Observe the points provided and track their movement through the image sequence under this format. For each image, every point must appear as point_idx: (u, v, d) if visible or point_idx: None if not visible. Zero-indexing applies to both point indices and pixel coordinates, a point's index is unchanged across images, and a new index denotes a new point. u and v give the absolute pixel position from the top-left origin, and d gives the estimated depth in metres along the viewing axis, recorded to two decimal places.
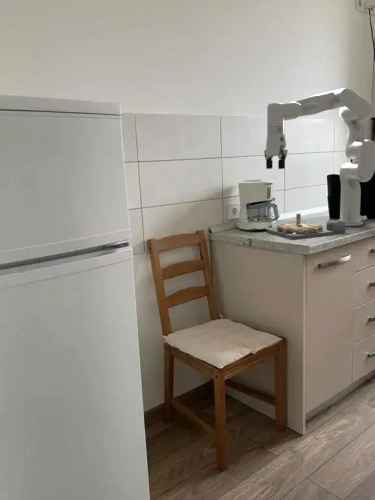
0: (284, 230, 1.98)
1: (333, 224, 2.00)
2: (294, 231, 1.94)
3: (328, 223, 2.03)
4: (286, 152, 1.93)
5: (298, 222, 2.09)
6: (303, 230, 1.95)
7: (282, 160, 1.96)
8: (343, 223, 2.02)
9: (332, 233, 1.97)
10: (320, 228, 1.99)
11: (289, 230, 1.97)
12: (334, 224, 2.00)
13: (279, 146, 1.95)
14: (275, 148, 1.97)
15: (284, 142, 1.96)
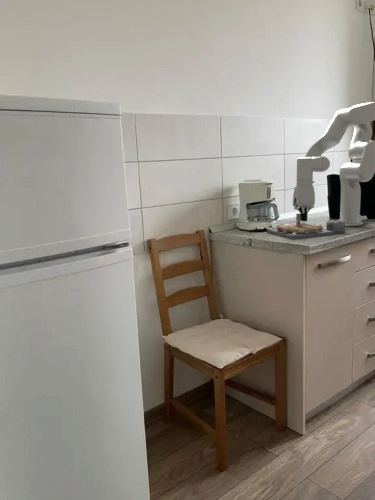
0: (284, 230, 1.97)
1: (333, 224, 2.00)
2: (294, 231, 1.94)
3: (328, 223, 2.03)
4: None
5: (298, 222, 2.09)
6: (303, 230, 1.95)
7: None
8: (343, 223, 2.02)
9: (332, 233, 1.97)
10: (320, 228, 1.99)
11: (289, 230, 1.97)
12: (334, 224, 2.00)
13: None
14: (312, 199, 2.08)
15: None
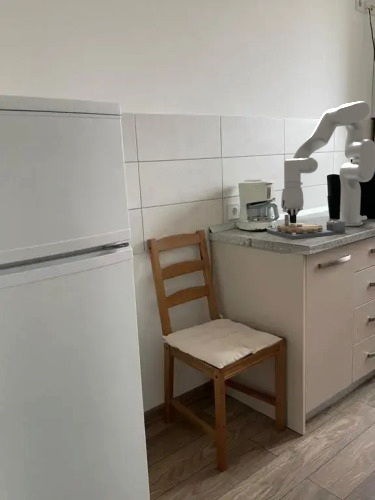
0: (306, 231, 1.93)
1: (333, 224, 2.00)
2: (315, 230, 1.95)
3: (328, 223, 2.03)
4: None
5: (288, 223, 2.07)
6: (318, 228, 1.98)
7: None
8: (343, 223, 2.02)
9: (332, 233, 1.97)
10: (315, 225, 2.07)
11: (308, 230, 1.95)
12: (334, 224, 2.00)
13: None
14: (301, 201, 2.06)
15: None
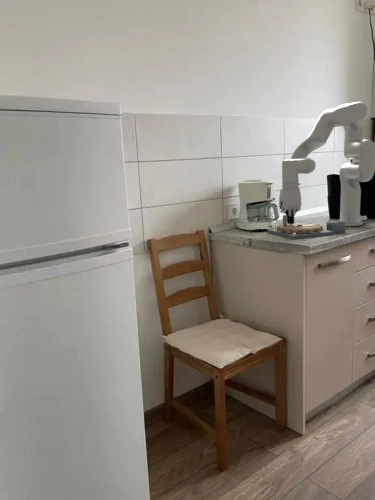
0: (312, 230, 1.94)
1: (333, 224, 2.00)
2: (320, 229, 1.96)
3: (328, 223, 2.03)
4: (298, 210, 2.09)
5: (286, 224, 2.06)
6: (319, 227, 2.00)
7: None
8: (343, 223, 2.02)
9: (332, 233, 1.97)
10: (310, 224, 2.10)
11: None
12: (334, 224, 2.00)
13: None
14: (298, 201, 2.05)
15: None
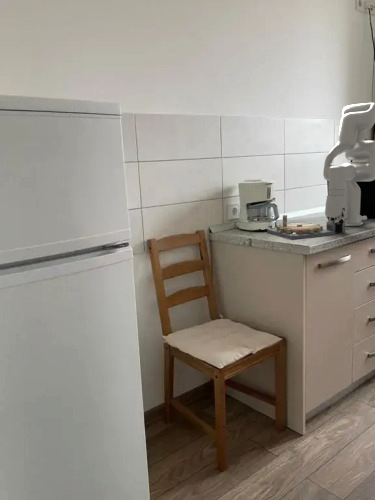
0: (312, 230, 1.94)
1: (333, 223, 2.00)
2: (320, 229, 1.96)
3: (328, 223, 2.02)
4: (327, 216, 2.08)
5: (286, 224, 2.06)
6: (319, 227, 2.00)
7: None
8: (343, 223, 2.02)
9: (332, 233, 1.97)
10: (310, 224, 2.10)
11: None
12: (334, 224, 2.00)
13: None
14: None
15: None
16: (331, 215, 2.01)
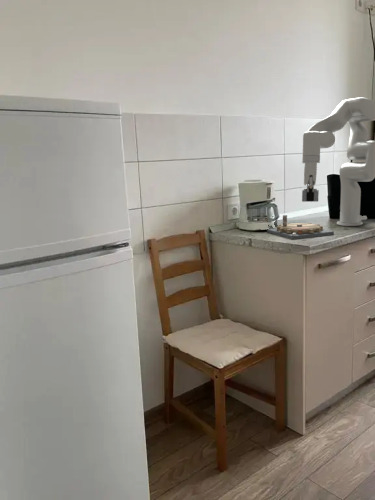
0: (312, 230, 1.94)
1: (303, 191, 1.95)
2: (320, 229, 1.96)
3: None
4: None
5: (286, 224, 2.06)
6: (319, 227, 2.00)
7: None
8: (316, 192, 1.93)
9: (332, 233, 1.97)
10: (310, 224, 2.10)
11: None
12: (304, 192, 1.94)
13: None
14: None
15: None
16: None
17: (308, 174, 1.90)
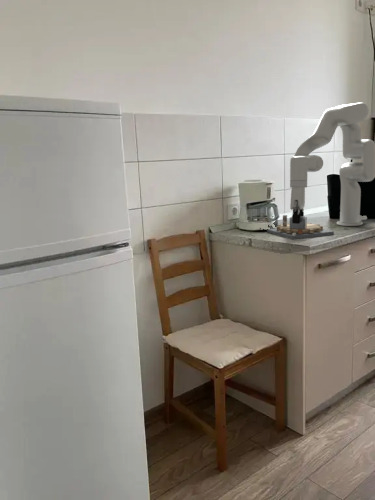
0: (312, 230, 1.94)
1: (290, 218, 1.97)
2: (320, 229, 1.96)
3: None
4: None
5: (286, 224, 2.06)
6: (319, 227, 2.00)
7: None
8: (303, 219, 1.94)
9: (332, 233, 1.97)
10: (310, 224, 2.10)
11: None
12: (291, 219, 1.96)
13: None
14: (304, 200, 1.98)
15: None
16: None
17: (293, 199, 1.91)
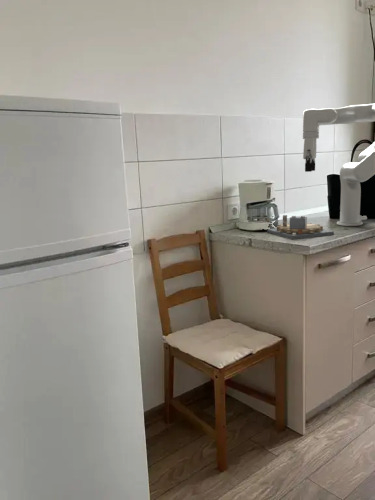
0: (312, 230, 1.94)
1: (290, 218, 1.97)
2: (320, 229, 1.96)
3: None
4: None
5: (286, 224, 2.06)
6: (319, 227, 2.00)
7: None
8: (303, 219, 1.94)
9: (332, 233, 1.97)
10: (310, 224, 2.10)
11: None
12: (291, 219, 1.96)
13: None
14: None
15: None
16: None
17: (306, 149, 2.08)
